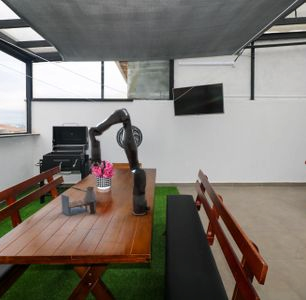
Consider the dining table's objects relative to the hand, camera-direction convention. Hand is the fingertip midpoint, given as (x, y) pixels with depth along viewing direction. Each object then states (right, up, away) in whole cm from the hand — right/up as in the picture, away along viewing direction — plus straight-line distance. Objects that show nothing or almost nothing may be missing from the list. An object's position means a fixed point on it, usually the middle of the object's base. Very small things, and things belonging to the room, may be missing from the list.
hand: (96, 174), depth 198 cm
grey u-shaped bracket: (-14, -27, -7) cm, 32 cm away
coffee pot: (-12, -26, +12) cm, 31 cm away
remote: (-1, -27, -11) cm, 30 cm away
